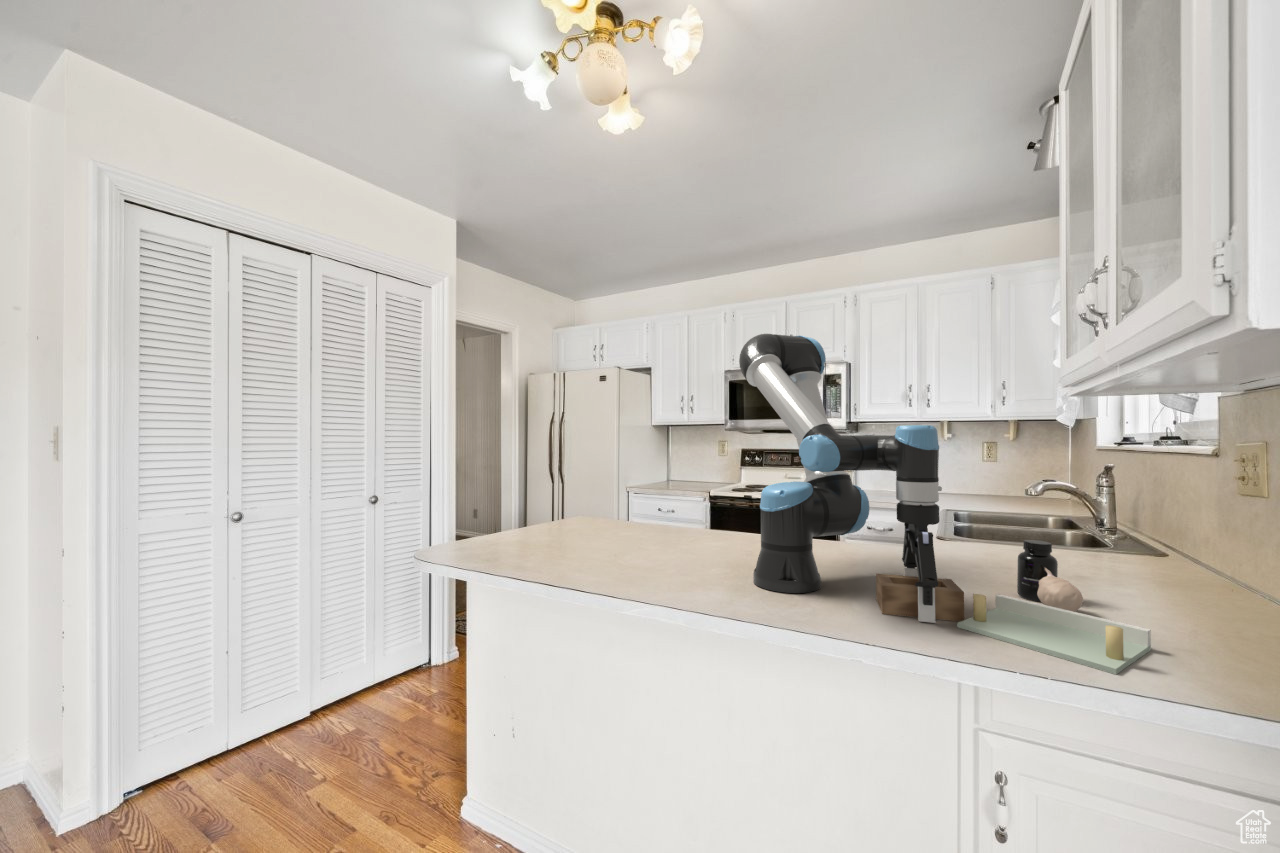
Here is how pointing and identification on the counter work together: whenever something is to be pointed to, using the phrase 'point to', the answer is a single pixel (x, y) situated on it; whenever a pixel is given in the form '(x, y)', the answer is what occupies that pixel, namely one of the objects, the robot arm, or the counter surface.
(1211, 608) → the counter surface
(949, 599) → the wooden box
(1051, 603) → the garlic bulb
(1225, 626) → the counter surface
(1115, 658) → the wall board
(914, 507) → the robot arm
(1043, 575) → the supplement bottle
